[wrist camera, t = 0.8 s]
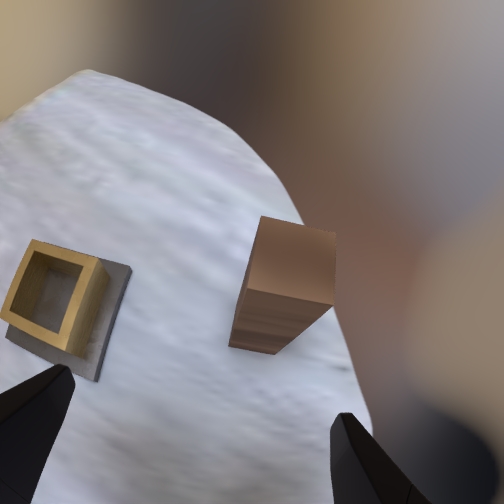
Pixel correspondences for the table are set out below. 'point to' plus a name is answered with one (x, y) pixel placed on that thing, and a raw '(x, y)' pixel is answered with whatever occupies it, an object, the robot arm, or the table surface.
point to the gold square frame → (64, 306)
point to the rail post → (284, 285)
